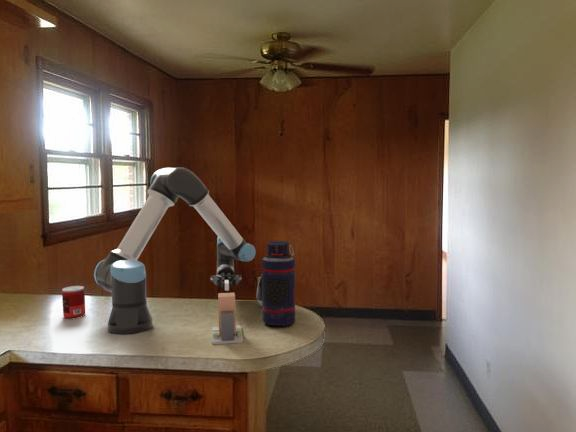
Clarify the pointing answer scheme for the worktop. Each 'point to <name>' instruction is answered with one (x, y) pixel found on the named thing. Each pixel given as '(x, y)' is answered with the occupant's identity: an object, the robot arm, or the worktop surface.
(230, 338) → the dark grey rubber block
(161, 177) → the robot arm
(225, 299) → the tall salmon pillar
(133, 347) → the worktop surface
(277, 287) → the navy red-striped canister
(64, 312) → the canned food
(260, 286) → the pump dispenser
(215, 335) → the gauge base
